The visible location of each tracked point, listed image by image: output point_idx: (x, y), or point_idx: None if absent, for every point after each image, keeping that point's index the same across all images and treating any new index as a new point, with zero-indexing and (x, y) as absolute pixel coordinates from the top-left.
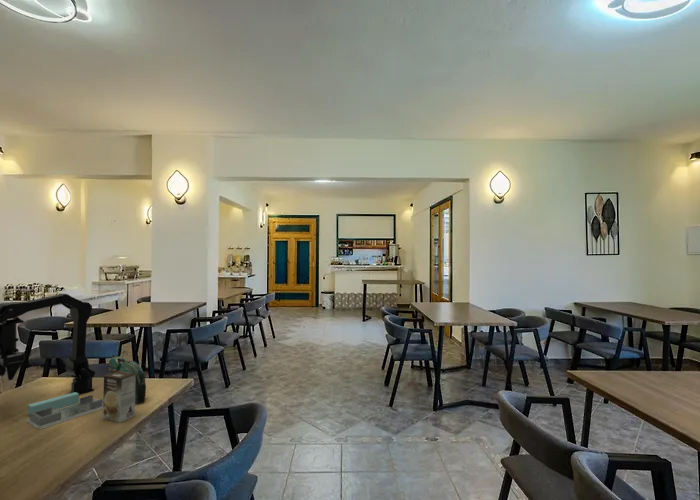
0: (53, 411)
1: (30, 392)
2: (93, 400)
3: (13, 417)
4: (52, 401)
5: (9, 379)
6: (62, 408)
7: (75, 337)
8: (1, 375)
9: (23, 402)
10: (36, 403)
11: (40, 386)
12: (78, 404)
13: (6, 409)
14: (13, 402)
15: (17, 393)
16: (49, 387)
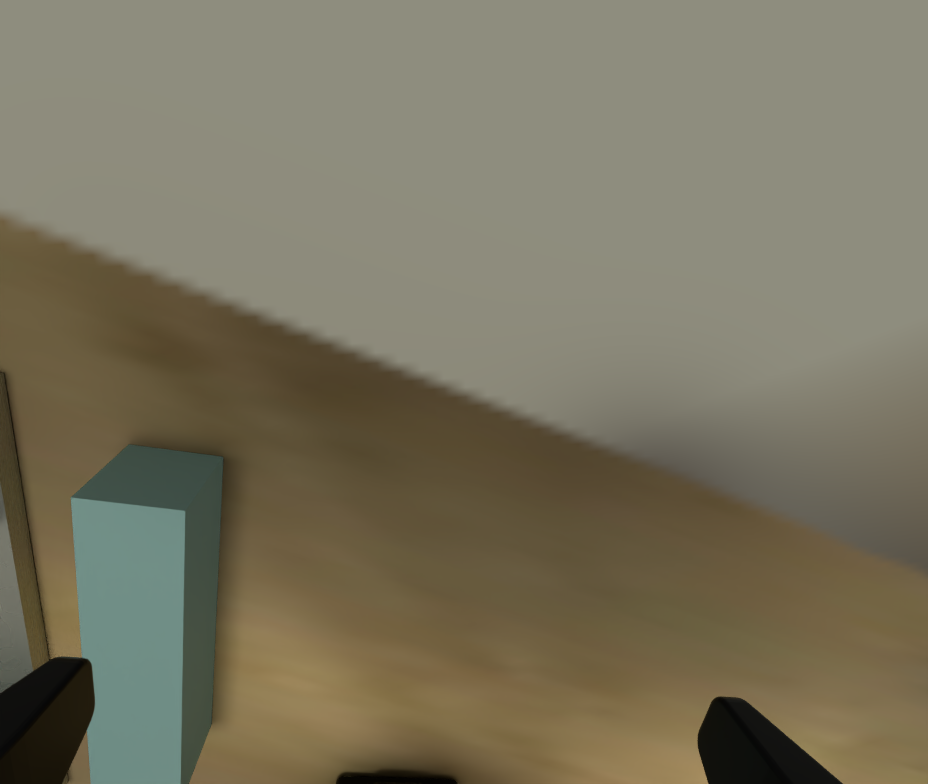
0: (5, 563)
1: (770, 665)
2: None
3: (264, 373)
4: (84, 641)
5: (35, 681)
6: (25, 621)
7: None
8: (712, 712)
9: (588, 559)
10: (146, 558)
11: (824, 739)
12: None
13: (553, 434)
14: (674, 526)
15: (855, 619)
16: None
